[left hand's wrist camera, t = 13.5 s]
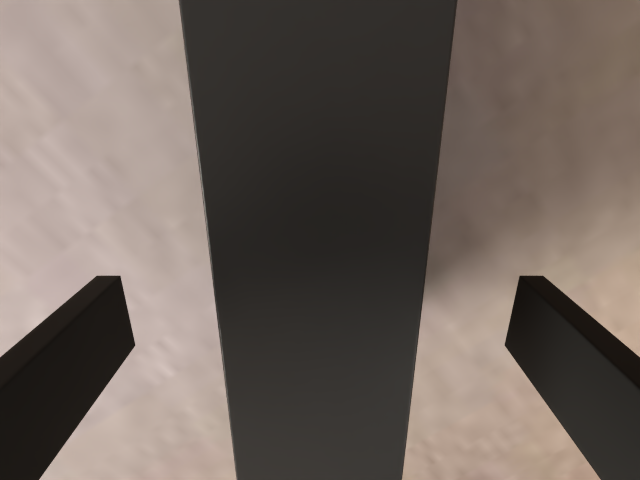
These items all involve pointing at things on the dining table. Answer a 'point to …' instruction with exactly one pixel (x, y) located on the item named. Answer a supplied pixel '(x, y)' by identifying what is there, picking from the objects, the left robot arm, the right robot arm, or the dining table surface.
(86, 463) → the dining table surface
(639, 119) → the dining table surface
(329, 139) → the bar
